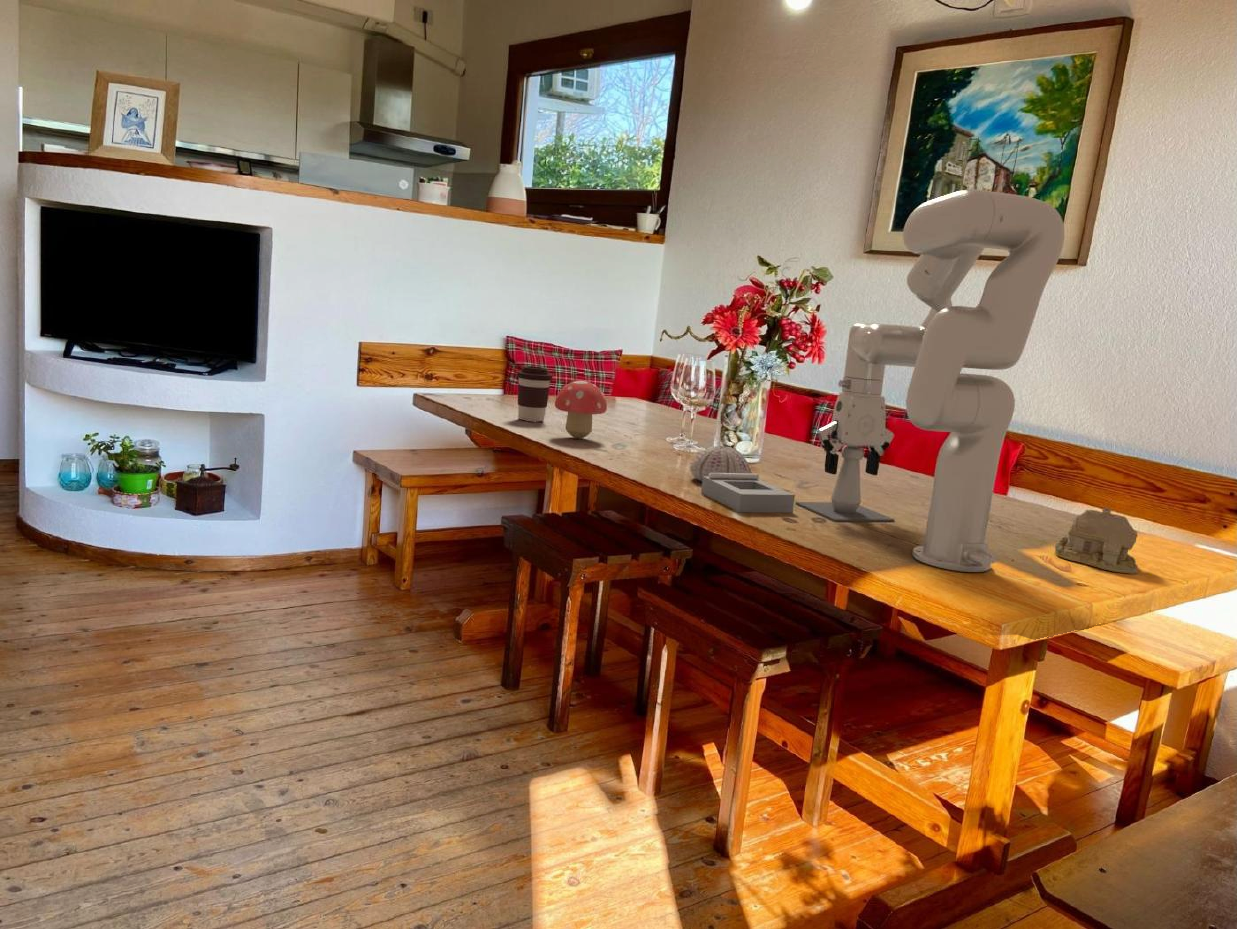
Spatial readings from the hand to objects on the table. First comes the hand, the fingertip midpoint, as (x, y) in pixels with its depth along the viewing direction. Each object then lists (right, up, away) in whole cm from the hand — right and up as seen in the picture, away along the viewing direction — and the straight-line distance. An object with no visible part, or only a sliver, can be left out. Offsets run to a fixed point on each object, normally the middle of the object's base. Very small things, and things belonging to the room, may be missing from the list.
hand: (850, 473), depth 199 cm
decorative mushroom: (-56, +8, +60) cm, 83 cm away
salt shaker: (-1, -8, +2) cm, 8 cm away
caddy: (-21, -6, +2) cm, 21 cm away
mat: (-1, -8, +2) cm, 8 cm away
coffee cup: (-71, +14, +84) cm, 111 cm away
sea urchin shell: (-24, -2, +21) cm, 32 cm away
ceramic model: (+39, -16, -19) cm, 47 cm away
